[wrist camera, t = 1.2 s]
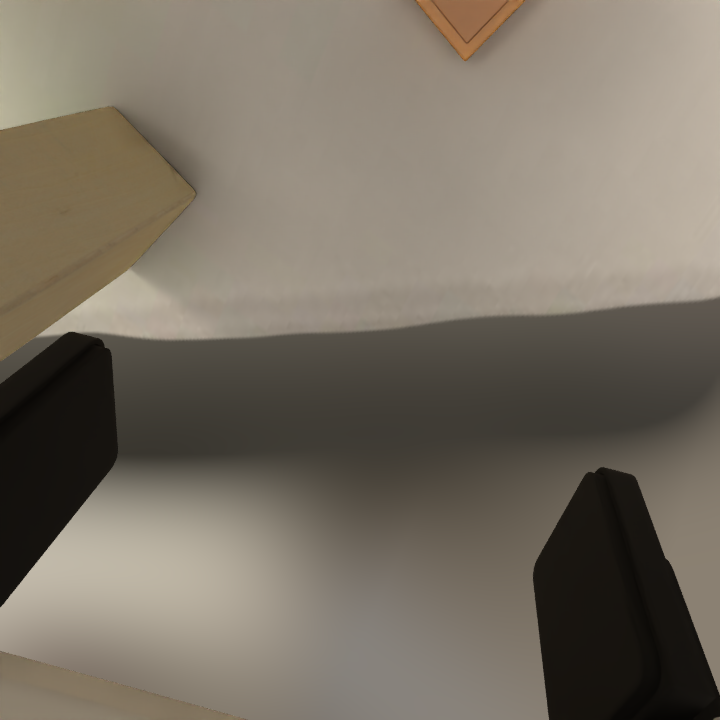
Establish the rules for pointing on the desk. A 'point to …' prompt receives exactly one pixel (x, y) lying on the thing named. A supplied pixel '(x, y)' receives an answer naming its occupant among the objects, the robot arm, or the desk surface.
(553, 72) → the desk surface
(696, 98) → the desk surface
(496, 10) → the orange stepped block
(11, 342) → the toy refrigerator
